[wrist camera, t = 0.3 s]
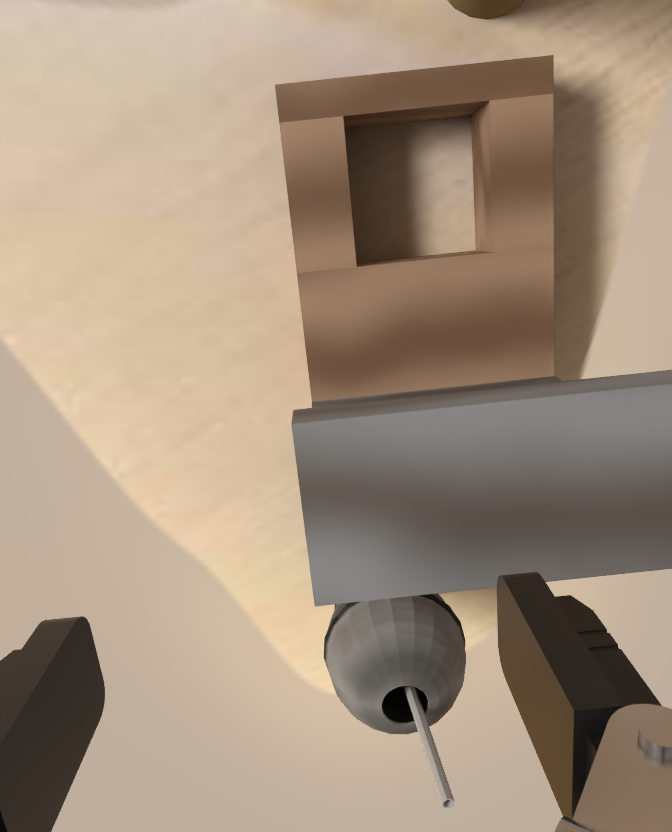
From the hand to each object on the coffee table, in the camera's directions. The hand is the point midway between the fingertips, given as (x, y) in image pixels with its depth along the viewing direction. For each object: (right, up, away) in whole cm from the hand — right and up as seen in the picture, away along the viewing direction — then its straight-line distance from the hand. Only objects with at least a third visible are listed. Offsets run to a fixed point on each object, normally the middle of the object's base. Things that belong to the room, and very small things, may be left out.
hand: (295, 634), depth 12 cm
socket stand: (+5, +14, +25) cm, 30 cm away
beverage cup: (+3, -4, +31) cm, 31 cm away
